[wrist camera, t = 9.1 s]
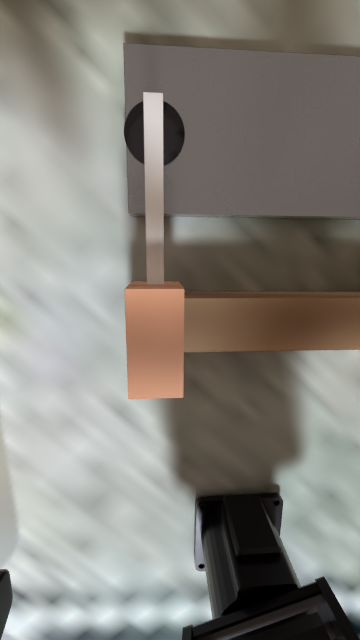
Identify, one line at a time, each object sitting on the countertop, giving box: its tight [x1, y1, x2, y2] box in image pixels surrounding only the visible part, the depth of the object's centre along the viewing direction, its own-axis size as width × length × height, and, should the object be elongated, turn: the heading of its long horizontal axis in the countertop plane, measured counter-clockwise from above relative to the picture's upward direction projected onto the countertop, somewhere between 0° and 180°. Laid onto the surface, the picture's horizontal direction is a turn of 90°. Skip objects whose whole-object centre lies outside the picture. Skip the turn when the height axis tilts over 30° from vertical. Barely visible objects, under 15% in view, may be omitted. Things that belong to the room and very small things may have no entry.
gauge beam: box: [125, 92, 360, 399], centre depth 15 cm, size 13×20×6 cm, turn 90°
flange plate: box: [123, 43, 360, 219], centre depth 16 cm, size 8×20×1 cm, turn 90°
